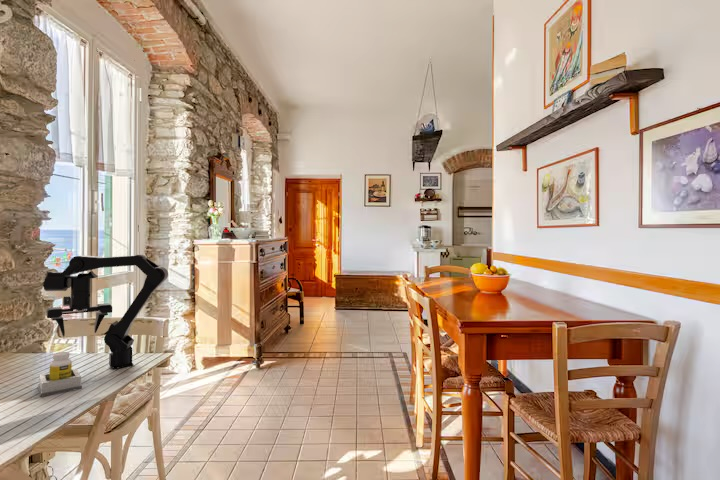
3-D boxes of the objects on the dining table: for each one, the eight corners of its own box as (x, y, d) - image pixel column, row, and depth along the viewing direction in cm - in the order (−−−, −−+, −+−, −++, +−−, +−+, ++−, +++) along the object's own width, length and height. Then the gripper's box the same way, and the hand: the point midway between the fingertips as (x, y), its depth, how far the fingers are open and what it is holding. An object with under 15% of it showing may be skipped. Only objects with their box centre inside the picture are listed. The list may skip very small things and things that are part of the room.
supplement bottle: (58, 389, 117) (59, 356, 117) (44, 387, 118) (45, 355, 118) (75, 382, 123) (76, 351, 123) (61, 380, 124) (62, 350, 124)
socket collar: (77, 379, 127) (77, 367, 127) (81, 388, 120) (82, 376, 120) (37, 386, 121) (38, 374, 121) (40, 396, 113) (40, 383, 113)
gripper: (107, 286, 150) (106, 326, 150) (45, 290, 138) (44, 333, 138) (113, 289, 142) (112, 332, 142) (48, 293, 130) (46, 340, 130)
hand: (79, 334), depth 138 cm, fingers open, 9 cm apart
